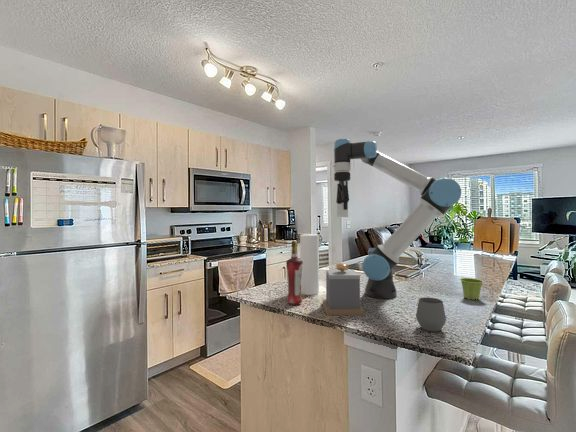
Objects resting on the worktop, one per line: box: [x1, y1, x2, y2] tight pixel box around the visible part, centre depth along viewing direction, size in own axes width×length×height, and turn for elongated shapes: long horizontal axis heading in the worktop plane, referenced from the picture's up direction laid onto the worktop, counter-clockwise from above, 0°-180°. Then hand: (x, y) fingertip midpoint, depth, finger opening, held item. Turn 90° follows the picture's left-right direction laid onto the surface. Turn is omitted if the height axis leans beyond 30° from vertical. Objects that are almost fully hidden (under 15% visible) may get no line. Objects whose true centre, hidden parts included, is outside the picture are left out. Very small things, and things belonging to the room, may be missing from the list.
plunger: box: [335, 262, 349, 273], centre depth 128 cm, size 9×9×16 cm
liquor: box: [286, 240, 303, 306], centre depth 136 cm, size 7×7×28 cm
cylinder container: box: [299, 233, 320, 296], centre depth 155 cm, size 9×9×30 cm
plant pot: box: [459, 277, 484, 301], centre depth 144 cm, size 9×9×9 cm
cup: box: [415, 296, 447, 333], centre depth 106 cm, size 10×9×10 cm
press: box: [322, 269, 365, 316], centre depth 128 cm, size 15×15×16 cm
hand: (342, 216), depth 145 cm, fingers open, 13 cm apart
